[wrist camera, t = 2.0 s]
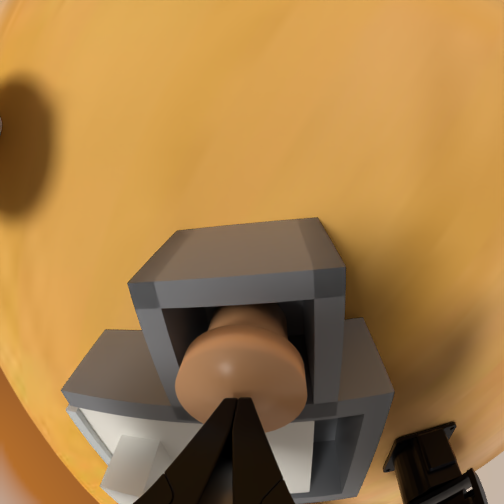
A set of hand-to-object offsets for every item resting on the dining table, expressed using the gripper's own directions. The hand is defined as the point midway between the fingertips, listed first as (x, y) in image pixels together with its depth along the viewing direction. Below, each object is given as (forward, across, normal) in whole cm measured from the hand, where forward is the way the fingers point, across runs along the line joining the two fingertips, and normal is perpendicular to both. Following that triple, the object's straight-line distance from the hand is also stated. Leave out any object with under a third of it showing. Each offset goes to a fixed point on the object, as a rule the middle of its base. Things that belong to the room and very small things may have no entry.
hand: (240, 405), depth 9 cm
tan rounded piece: (+4, 0, 0) cm, 4 cm away
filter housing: (+8, +2, +5) cm, 10 cm away
